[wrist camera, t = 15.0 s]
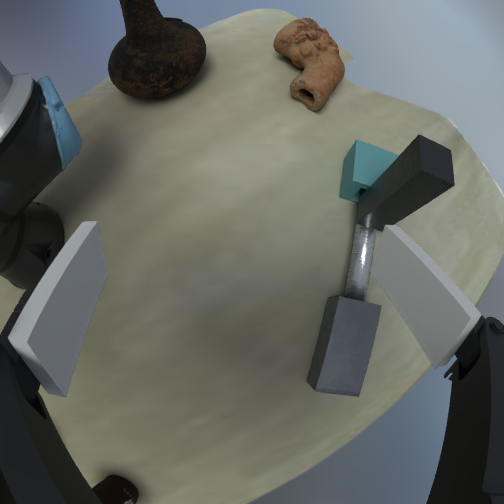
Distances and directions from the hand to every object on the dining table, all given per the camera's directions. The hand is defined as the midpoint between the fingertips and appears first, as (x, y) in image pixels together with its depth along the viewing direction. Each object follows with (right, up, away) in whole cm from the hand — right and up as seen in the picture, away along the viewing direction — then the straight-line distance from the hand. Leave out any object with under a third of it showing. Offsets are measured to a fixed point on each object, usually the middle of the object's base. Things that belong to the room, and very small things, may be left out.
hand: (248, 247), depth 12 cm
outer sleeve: (+12, -13, +24) cm, 30 cm away
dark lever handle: (+16, +1, +26) cm, 30 cm away
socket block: (+18, +10, +29) cm, 36 cm away
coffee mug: (-22, -42, +18) cm, 51 cm away
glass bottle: (-17, +33, +33) cm, 50 cm away
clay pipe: (+10, +34, +34) cm, 49 cm away
